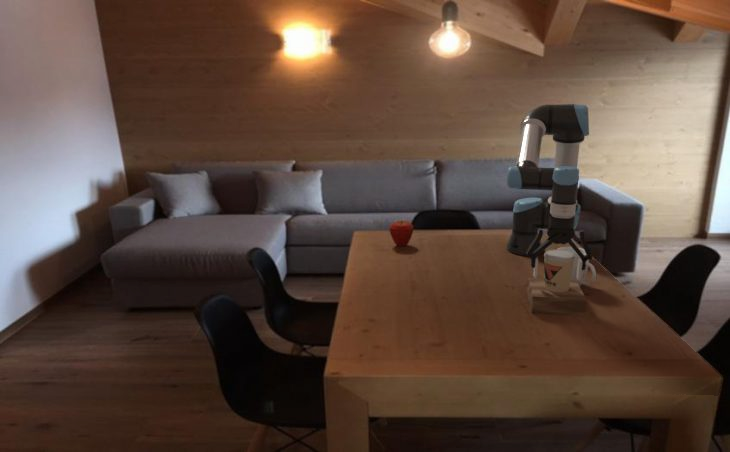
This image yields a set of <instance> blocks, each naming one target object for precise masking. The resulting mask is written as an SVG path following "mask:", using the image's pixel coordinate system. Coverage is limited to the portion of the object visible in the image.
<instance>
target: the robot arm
mask: <svg viewBox="0 0 730 452" xmlns="http://www.w3.org/2000/svg"><path fill="white" fill-rule="evenodd" d="M589 121H590V120H589V107H588V106H587V105H586V104H576V103H571V104H570V103H569V104H567V103H565V104H542V105H539V106H537V107H535V108H533V109H532V110H531V111H530V110H529V112H528V113H527V114H526V115H525V116H524V117H523V119H522V121H521V122H520V126H519V134H520V141H519V146H518V152H517V157H516V161H515V166H509V167H508V169H507V179H506V180H507V181H506V185H507V187H508V188H510V189H517V190H535V191H536V190H537V191H538V190H539V191H550V192H551V196H549V197H548V199H547V202H545V201H543V198H540V197H525V198H519V199H518V200H516V201H515V202H514V204H513V210H512V212H513V214H512V215H513V216H512V225H511V226H512V229H511V235H510V237H509V239H508V242H507V245H506V250H507V251H508V252H509V253H512V254H515V255H519V256H520V255H521V256H526V257H528V258H530V266H531V268H533V278H538V277H537V276H538V267H539V265H538V264H539V258H538V257H539V256H540V255H541V254H543V252H544V251H545V250H546V249H547V248H548V247H550V246H551V245H552V244H555V245H559V244H561V245H566V244H569V247H572V248H573V249H574V250H575V252H576V253H577V254H578V255H579V257H580V258H581V259H578V267H577V279H578V280H581V271H582V270H585V265H586V261H587V260H589V261H591V260H592V259H593V254H592V253H591V250H590V249H589V246H588V244H587V241H586V239H585V233H584V231H583V229H579V230H575V229H576V227H577V225H578V223H579V219H580V213H581V205H580V204H579V203H578V200H577V198H578V188H579V181H580V169H579V168H578V162H579V154H580V144H582V143H583V142H584V141H585V137H588V136H589V135H590V122H589ZM546 135H547V136H552V141H554V142H555V153H554V154H555V156H554V167H539V164H540V155H541V150H542V149H541V148H542V141H543V137H544V136H546ZM545 235H547V238H546V239H545V240H544V241H543V242H542V239H543V237H545ZM574 236H576V238H578V239H579V242H580V244H581V245H582V249H584V250H585V252H586V255H583V254H582V252H581V251H580V250H579V249H578V248H579V247H578V246H577V245H576V243H574V242H573V240H572V239H573V237H574Z"/></svg>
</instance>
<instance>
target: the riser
mask: <svg viewBox="0 0 730 452" xmlns="http://www.w3.org/2000/svg"><path fill="white" fill-rule="evenodd" d="M526 287H527V288H526V295H527V296H526V297H527V300H528V303H529V307H530V312H531V314H534V315H535V314H536V315H548V316H549V315H550V316H562V317H565V316H567V317H576V318H577V317H579V318H580V317H581V318H585V316H586V308H587V298H586V295H585V294H584V292H583V290H582V289H581V285H580V286H579V284H578V283H577V281H575V280H571V281H570V286H569V290H568V291H567V292H552V291H549V290H547V289H545V287H544V278H539V277H537V278H534V277H528V278H527V285H526Z"/></svg>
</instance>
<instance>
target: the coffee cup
mask: <svg viewBox="0 0 730 452" xmlns="http://www.w3.org/2000/svg"><path fill="white" fill-rule="evenodd" d="M543 257H544V258H543V259H544V263H543V265H544V266H543V267H544V268H543V279H544V287H545V289H547V290H549V291H552V292H567V291H568V290H569V286H570V281H571V275H572V269H573V263H574V259H575V257H574V254H573V253H571V252H568V251H565V250H557V249H549V250H546V251H545V252H544V254H543Z"/></svg>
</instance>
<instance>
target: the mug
mask: <svg viewBox="0 0 730 452" xmlns="http://www.w3.org/2000/svg"><path fill="white" fill-rule="evenodd" d="M578 249H579V250H580V251H581V252H582V254H583V255H586V252H585V250H584V248H583V247H582V248H581V247H578ZM556 250H565V251H568V252H571V253H573V254H574V257H575V259H574V263H573V269H572V275H571V280H575V281H577V283H578V284H579V286H580V287H581V285H591V284H592V283H593V282H595V280H596V276H597V273H596V267H595V266H594V265H593V264H592V263H590V259H589V260H587V261H586V265H585V270H582V271H581V280H578V279H577V267H578V259H581V258H580V257H579V255H578V254H577V253H576V252H575V250H574V249H573V248H572V247H571V246H561V247H558V248H557V249H556ZM589 269H590V271H591V279H590V280H589V281H585V279H586V276H587V275H588V270H589Z"/></svg>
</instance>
